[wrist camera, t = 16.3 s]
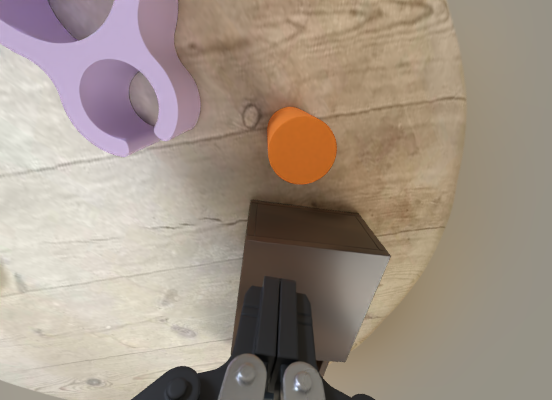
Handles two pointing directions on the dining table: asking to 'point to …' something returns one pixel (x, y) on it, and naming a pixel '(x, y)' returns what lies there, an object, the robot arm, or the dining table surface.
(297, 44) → the dining table surface
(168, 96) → the clip
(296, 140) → the roller
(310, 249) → the cabinet
